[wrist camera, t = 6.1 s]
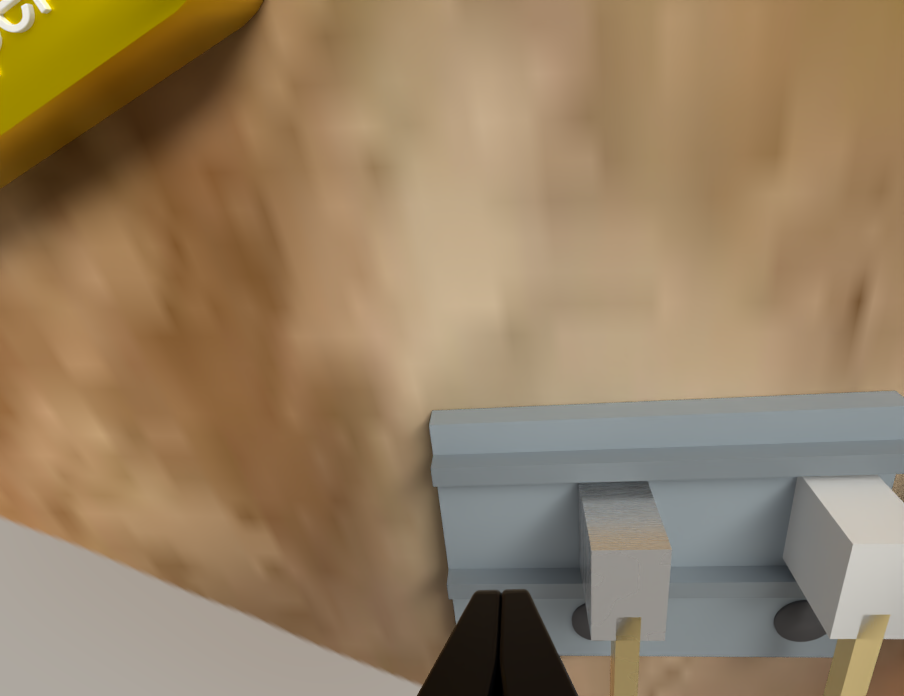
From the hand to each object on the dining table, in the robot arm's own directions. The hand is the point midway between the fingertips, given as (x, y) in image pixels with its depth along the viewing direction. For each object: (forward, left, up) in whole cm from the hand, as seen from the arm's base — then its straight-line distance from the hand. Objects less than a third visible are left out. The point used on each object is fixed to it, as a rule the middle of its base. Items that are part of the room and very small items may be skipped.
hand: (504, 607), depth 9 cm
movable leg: (-3, +10, -11) cm, 15 cm away
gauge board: (-5, +9, -12) cm, 16 cm away
